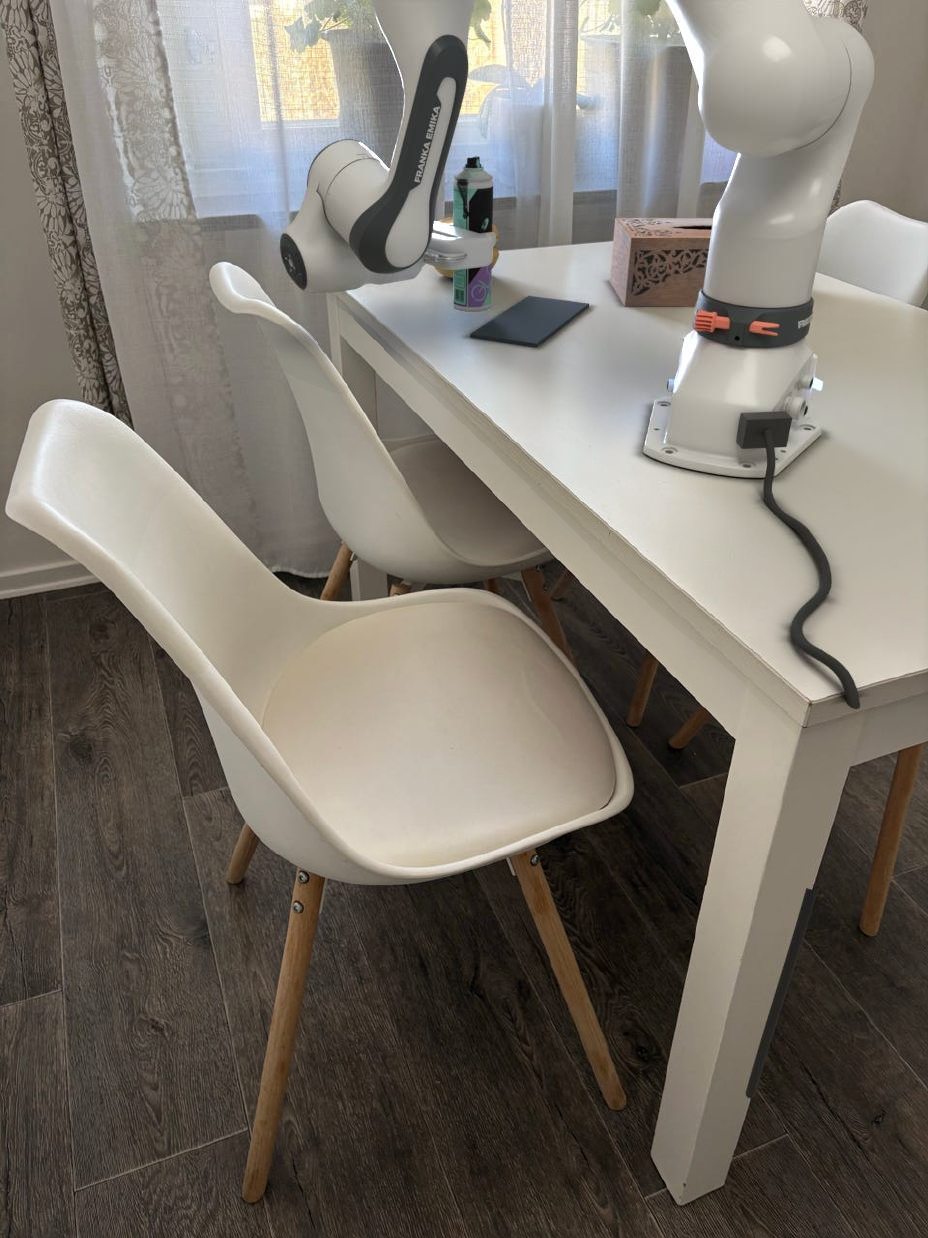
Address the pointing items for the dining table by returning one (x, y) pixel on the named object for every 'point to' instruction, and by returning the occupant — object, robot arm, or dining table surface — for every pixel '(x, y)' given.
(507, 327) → the mat
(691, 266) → the tissue box cover
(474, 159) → the spray can
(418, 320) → the dining table surface
